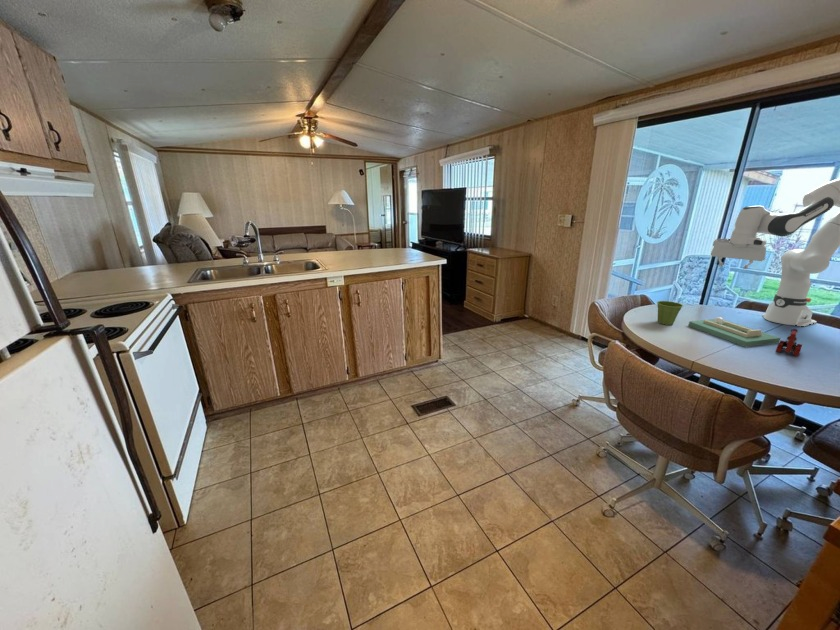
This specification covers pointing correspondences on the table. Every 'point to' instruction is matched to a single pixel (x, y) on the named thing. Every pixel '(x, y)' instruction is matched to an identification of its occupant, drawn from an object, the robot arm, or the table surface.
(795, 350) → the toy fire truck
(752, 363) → the table surface
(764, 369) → the table surface
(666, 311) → the plant pot
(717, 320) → the ball
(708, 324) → the putting mat
